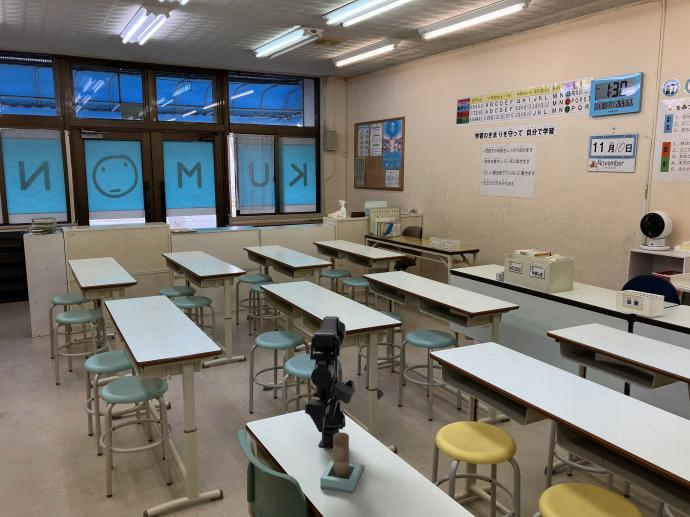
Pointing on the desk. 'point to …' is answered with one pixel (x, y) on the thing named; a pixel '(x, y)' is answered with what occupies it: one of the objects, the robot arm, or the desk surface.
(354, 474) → the light blue hollow frame
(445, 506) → the desk surface
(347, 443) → the dowel peg
